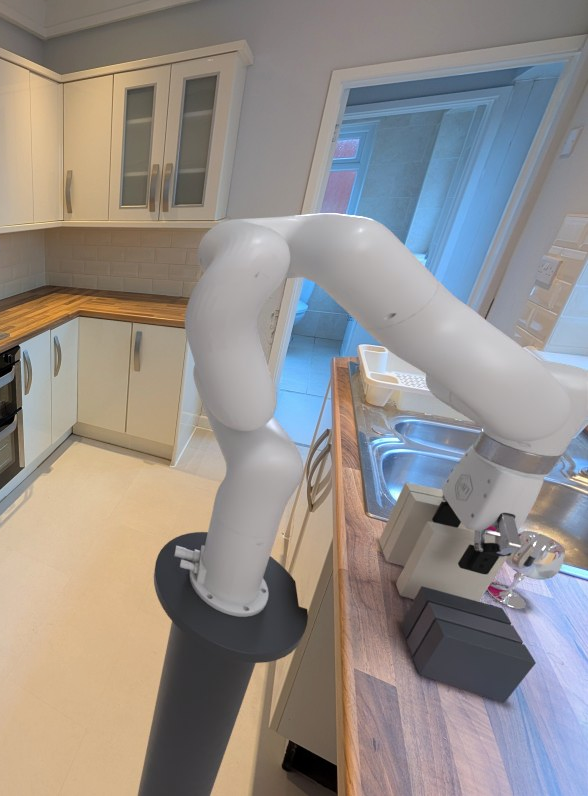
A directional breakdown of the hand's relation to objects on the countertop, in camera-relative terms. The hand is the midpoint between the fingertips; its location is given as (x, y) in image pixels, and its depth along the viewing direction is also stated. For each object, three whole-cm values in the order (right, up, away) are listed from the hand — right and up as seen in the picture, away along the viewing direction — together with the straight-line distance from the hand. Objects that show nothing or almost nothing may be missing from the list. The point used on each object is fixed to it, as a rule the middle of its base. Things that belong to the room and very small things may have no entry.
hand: (457, 545), depth 64 cm
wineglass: (+13, -11, +5) cm, 18 cm away
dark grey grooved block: (-5, -15, -4) cm, 16 cm away
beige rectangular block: (+4, -7, +12) cm, 15 cm away
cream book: (+1, -11, +5) cm, 12 cm away
